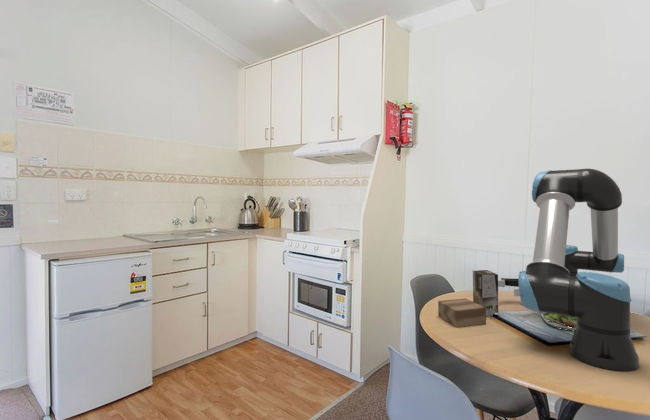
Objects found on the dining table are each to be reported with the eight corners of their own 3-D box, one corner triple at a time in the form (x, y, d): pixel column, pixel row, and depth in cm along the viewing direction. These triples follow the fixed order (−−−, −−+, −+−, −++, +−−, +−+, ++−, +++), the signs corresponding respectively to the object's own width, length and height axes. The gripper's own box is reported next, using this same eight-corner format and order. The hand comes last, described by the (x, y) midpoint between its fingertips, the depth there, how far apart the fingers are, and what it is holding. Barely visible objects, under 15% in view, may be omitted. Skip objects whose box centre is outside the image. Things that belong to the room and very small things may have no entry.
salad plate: (614, 339, 109) (614, 325, 109) (548, 332, 116) (548, 319, 116) (593, 319, 127) (593, 307, 127) (537, 314, 134) (537, 302, 134)
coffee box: (499, 316, 132) (498, 274, 132) (482, 316, 132) (481, 274, 132) (488, 308, 141) (488, 269, 141) (472, 308, 141) (472, 269, 141)
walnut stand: (486, 324, 124) (485, 307, 124) (456, 327, 122) (456, 310, 122) (466, 313, 136) (465, 298, 136) (438, 316, 134) (438, 300, 134)
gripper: (574, 301, 131) (526, 306, 126) (524, 285, 155) (482, 289, 151) (574, 282, 130) (526, 286, 126) (523, 269, 155) (482, 272, 151)
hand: (502, 288), depth 139 cm, fingers open, 13 cm apart
